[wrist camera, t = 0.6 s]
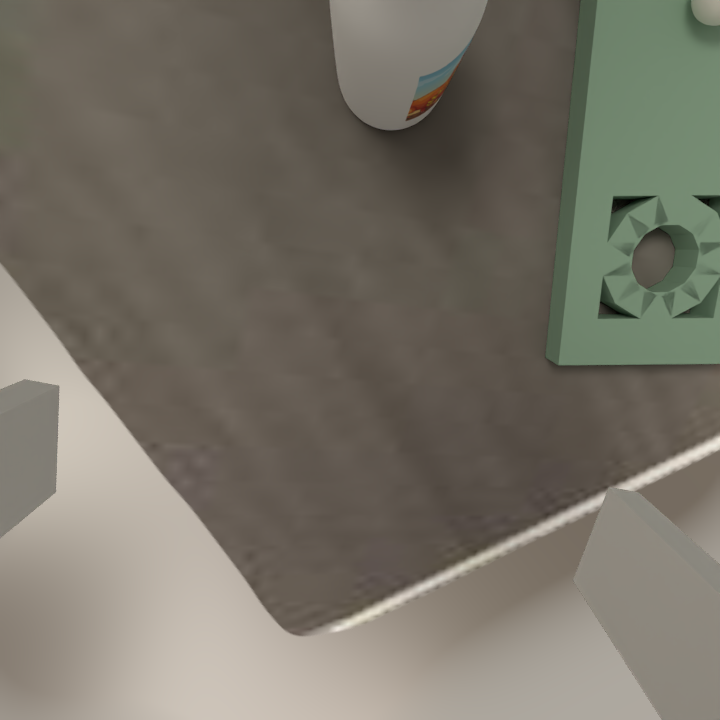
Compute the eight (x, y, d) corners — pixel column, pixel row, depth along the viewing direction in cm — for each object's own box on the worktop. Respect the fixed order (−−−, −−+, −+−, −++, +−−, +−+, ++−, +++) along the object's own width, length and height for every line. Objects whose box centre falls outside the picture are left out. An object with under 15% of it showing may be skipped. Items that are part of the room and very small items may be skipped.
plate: (592, -119, 29) (613, -152, 27) (805, -120, 29) (846, -153, 27) (545, 357, 37) (558, 365, 34) (713, 356, 37) (738, 363, 35)
